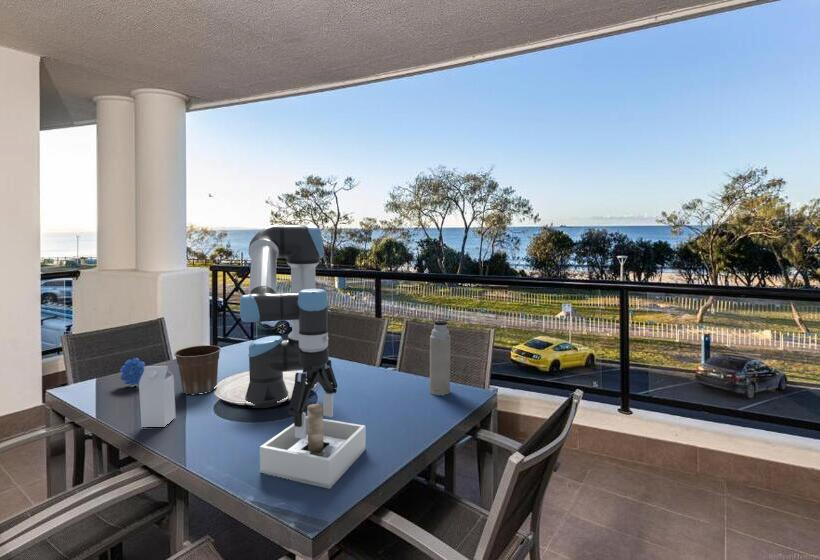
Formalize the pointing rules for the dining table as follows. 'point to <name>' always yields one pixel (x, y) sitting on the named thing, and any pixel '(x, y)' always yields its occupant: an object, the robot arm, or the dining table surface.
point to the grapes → (132, 371)
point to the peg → (315, 427)
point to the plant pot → (198, 368)
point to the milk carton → (157, 396)
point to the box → (310, 466)
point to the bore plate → (328, 446)
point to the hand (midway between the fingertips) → (315, 426)
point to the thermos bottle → (440, 359)
